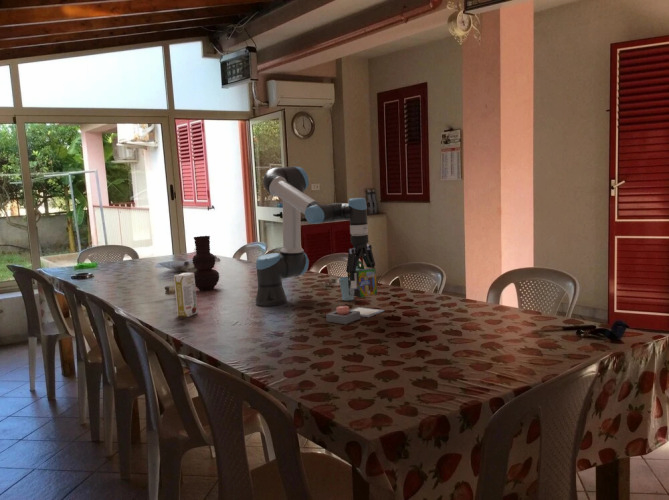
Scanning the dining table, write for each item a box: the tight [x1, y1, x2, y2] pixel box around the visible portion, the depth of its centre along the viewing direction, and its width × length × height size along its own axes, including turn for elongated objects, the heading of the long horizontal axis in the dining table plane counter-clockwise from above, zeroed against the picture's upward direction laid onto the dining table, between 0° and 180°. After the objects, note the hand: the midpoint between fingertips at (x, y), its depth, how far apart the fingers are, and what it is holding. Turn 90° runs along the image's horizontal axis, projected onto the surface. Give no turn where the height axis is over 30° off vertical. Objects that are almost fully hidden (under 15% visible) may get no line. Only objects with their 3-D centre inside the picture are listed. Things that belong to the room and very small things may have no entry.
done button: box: [336, 305, 350, 315], centre depth 236 cm, size 5×5×3 cm
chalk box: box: [346, 260, 378, 298], centre depth 246 cm, size 9×9×15 cm
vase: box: [191, 235, 220, 292], centre depth 317 cm, size 15×15×30 cm
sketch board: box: [351, 306, 385, 318], centre depth 248 cm, size 14×12×1 cm
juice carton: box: [173, 272, 198, 318], centre depth 261 cm, size 8×9×19 cm
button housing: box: [325, 309, 361, 325], centre depth 237 cm, size 10×10×3 cm
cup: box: [338, 276, 355, 302], centre depth 275 cm, size 8×8×10 cm
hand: (362, 285), depth 246 cm, fingers closed on chalk box, 10 cm apart
